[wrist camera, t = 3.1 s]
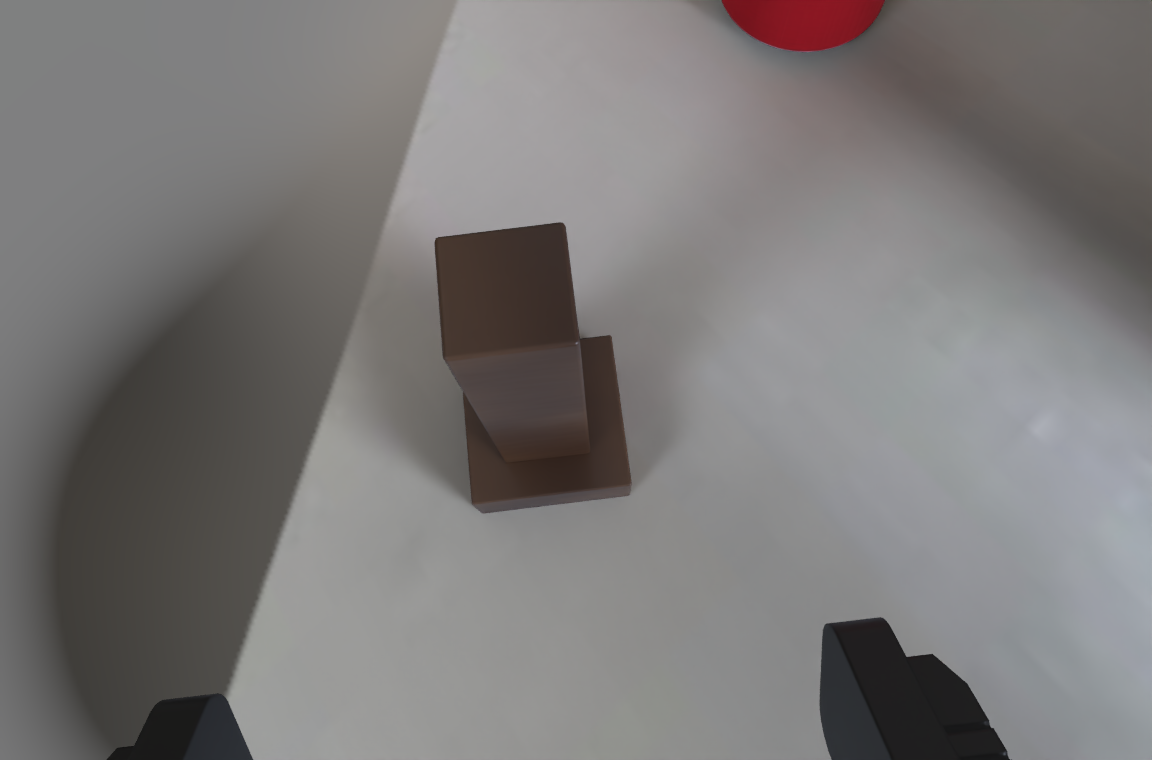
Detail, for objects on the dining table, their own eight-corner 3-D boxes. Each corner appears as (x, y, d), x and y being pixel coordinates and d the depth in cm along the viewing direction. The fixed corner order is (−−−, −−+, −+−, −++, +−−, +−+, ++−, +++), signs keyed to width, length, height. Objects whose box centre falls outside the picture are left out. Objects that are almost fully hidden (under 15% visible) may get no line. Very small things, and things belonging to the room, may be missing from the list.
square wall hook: (481, 514, 27) (387, 424, 15) (469, 371, 28) (375, 193, 17) (630, 495, 27) (646, 393, 15) (611, 354, 28) (613, 163, 17)
